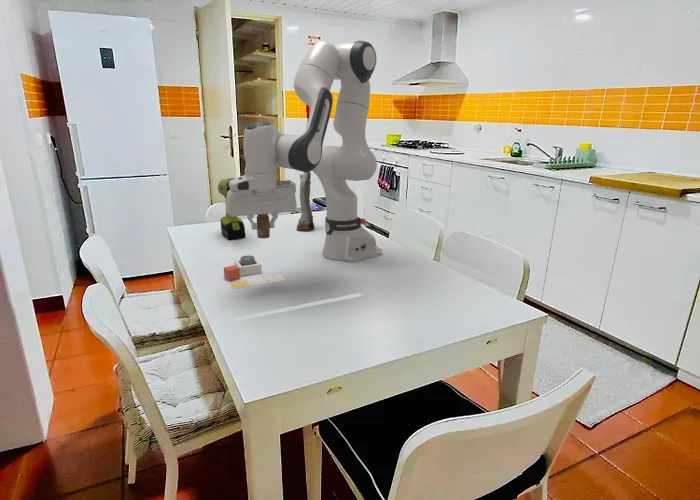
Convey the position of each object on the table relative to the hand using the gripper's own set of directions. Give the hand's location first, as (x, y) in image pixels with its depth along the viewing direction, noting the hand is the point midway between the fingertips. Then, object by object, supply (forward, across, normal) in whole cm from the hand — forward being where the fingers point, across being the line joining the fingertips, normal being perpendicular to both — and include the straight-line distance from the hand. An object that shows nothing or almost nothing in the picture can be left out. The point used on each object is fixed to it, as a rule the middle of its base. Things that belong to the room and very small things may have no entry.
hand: (263, 228), depth 125 cm
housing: (+17, +3, -10) cm, 20 cm away
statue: (+17, -34, -52) cm, 64 cm away
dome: (+16, +3, -10) cm, 19 cm away
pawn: (+2, 0, 0) cm, 2 cm away
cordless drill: (+18, -3, -50) cm, 53 cm away
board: (+18, +2, -5) cm, 19 cm away
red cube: (+17, +9, -6) cm, 20 cm away
